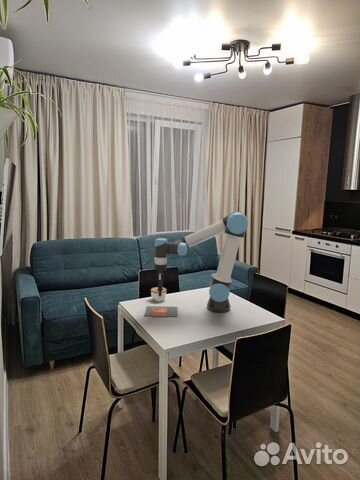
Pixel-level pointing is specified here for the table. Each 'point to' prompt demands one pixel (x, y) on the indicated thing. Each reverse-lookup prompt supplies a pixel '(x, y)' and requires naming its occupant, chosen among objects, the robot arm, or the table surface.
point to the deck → (159, 312)
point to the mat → (170, 310)
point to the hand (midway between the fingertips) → (159, 300)
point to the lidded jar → (155, 293)
